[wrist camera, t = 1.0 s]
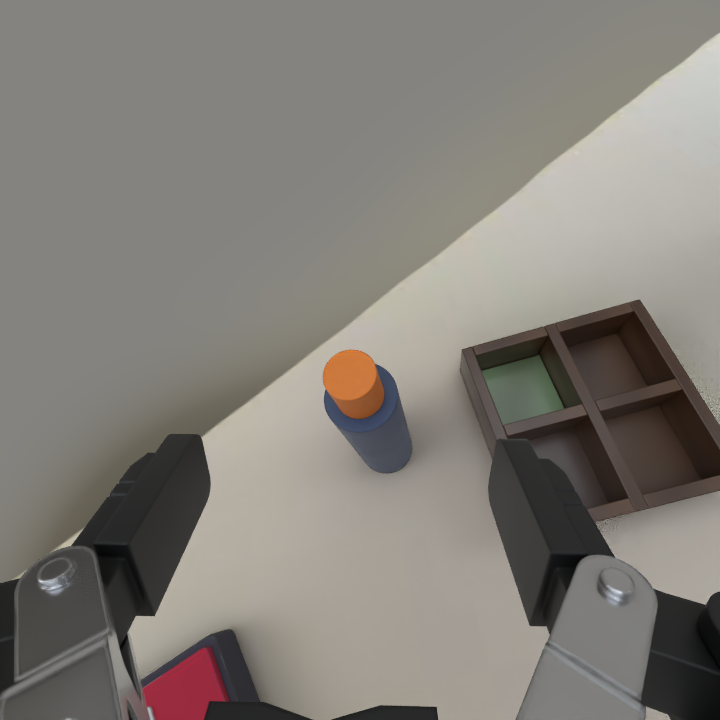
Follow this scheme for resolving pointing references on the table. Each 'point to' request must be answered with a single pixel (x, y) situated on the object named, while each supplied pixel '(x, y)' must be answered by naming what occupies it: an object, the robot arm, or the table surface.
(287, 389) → the table surface
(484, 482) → the table surface
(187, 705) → the calculator
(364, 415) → the bottle
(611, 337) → the organizer
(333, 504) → the table surface
